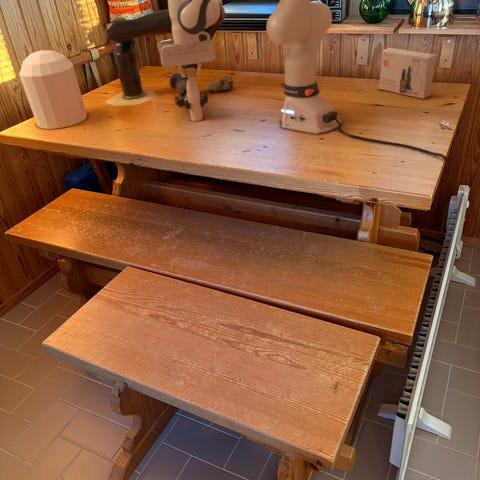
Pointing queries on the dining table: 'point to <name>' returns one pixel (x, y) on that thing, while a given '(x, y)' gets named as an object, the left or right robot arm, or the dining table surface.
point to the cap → (190, 72)
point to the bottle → (194, 99)
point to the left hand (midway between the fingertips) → (196, 105)
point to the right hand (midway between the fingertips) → (190, 76)
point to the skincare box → (407, 72)
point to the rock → (221, 84)
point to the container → (52, 90)
